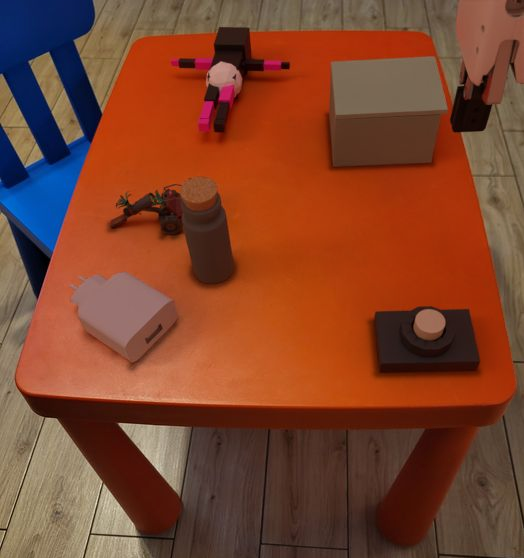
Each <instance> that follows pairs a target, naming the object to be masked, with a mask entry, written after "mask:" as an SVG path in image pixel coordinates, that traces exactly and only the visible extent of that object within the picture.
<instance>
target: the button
mask: <svg viewBox="0 0 524 558" xmlns="http://www.w3.org/2000/svg"><path fill="white" fill-rule="evenodd" d="M444 327H445V318H444V316H443V315H442V314H441V313H440V312H438V311H436V310H432V309H426V310H422V311H420V312H419V313H418V314H417V315H416V318H415V322H414V326H413V329H414V332H415V334H416V335H417V336H418V337H419V338H421V339H423V340H426V341H433V340H436V339H438V338H439V337H440V336H441V335H442V333H443V330H444Z"/></svg>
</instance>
